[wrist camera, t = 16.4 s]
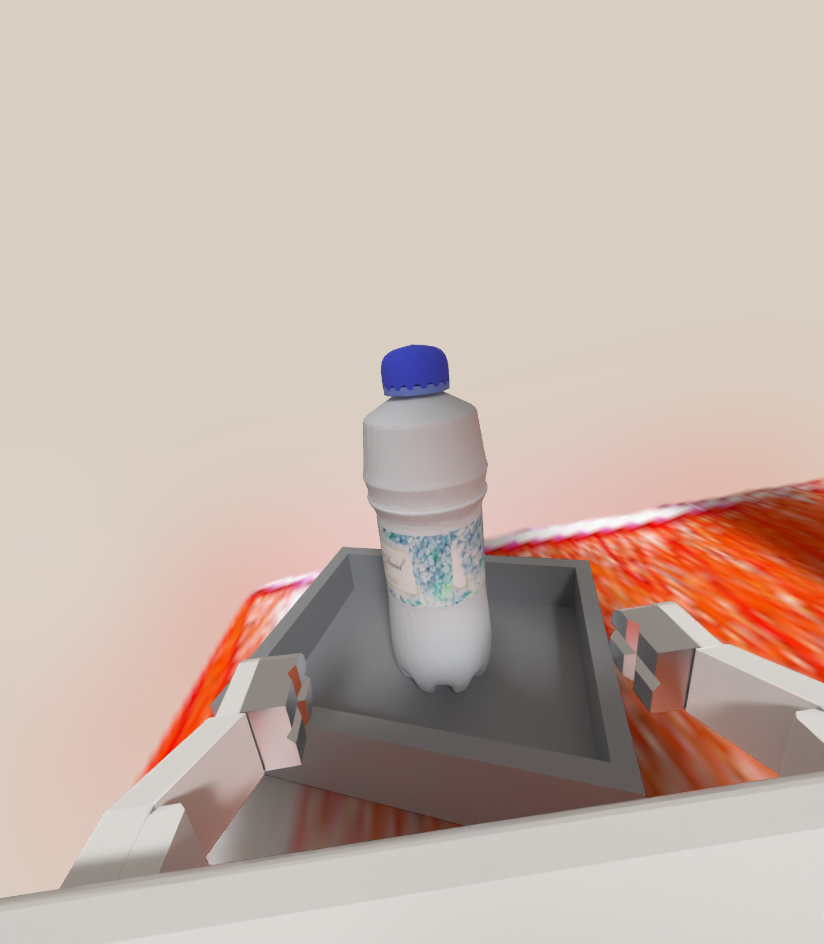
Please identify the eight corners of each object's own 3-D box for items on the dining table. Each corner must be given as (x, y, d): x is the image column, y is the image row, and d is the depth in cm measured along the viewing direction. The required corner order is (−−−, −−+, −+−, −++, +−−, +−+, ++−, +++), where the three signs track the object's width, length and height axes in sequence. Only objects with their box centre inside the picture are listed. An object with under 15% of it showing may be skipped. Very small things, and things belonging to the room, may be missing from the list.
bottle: (382, 645, 28) (335, 352, 22) (468, 617, 30) (448, 339, 23) (411, 727, 22) (358, 353, 15) (517, 686, 24) (509, 335, 17)
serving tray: (586, 611, 31) (588, 560, 29) (635, 869, 16) (645, 795, 15) (350, 589, 36) (342, 547, 35) (232, 766, 22) (210, 705, 20)
